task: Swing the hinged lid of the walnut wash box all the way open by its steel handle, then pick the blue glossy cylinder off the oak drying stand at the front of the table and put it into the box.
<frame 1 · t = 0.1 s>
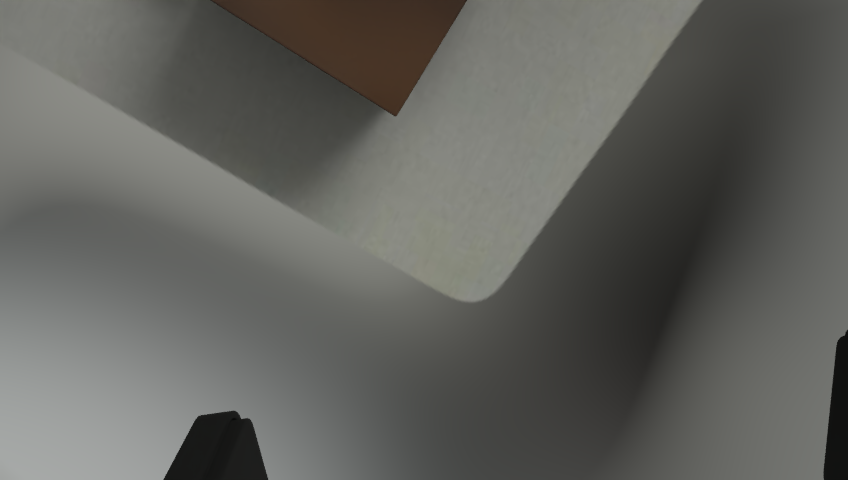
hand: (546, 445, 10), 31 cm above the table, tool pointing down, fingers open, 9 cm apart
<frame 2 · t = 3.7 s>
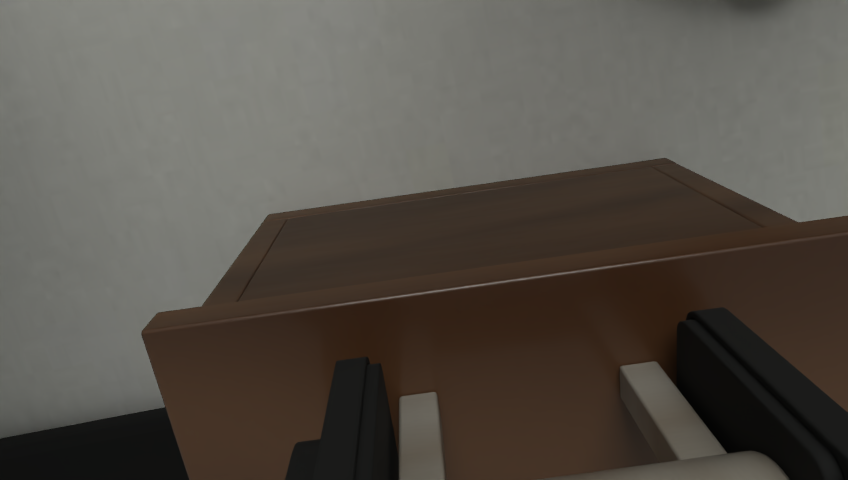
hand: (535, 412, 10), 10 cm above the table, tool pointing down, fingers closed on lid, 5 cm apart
wooden box: (487, 366, 22), on the table
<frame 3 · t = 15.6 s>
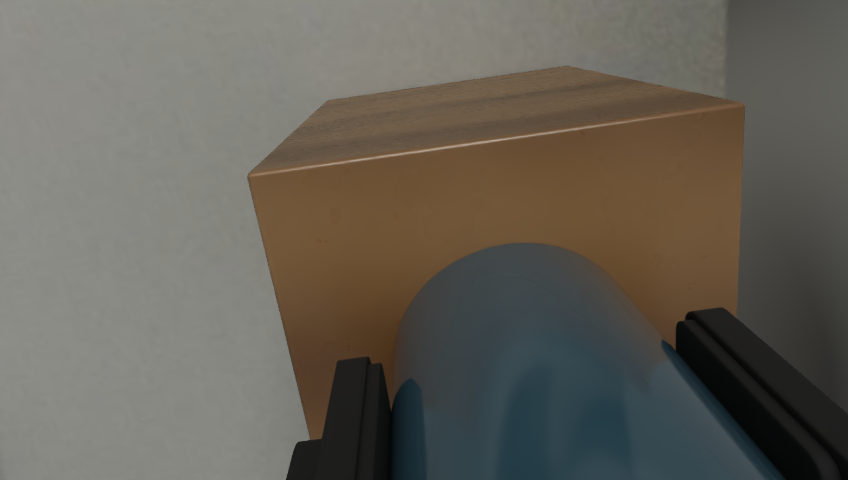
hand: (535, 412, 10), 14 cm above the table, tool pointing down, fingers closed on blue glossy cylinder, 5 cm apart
blue glossy cylinder: (516, 358, 12), point 12 cm above the table, touching gripper, stand
stand: (461, 200, 23), on the table
when the fingers open (6 cm above the table, at t = 26.8 s): blue glossy cylinder stays where it is, resting on wooden box.
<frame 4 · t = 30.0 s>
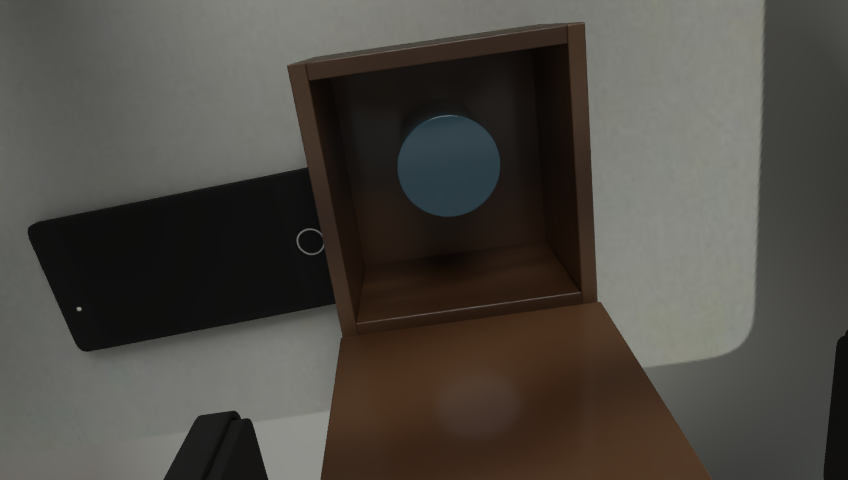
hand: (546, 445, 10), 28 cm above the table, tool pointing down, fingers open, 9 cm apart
blue glossy cylinder: (440, 142, 36), point 1 cm above the table, touching wooden box
wooden box: (442, 156, 37), on the table
lid: (497, 466, 24), point 16 cm above the table, hinge at 94.8°
cell phone: (197, 258, 38), on the table
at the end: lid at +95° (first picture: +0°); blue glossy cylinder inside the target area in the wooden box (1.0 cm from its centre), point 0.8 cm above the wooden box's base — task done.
